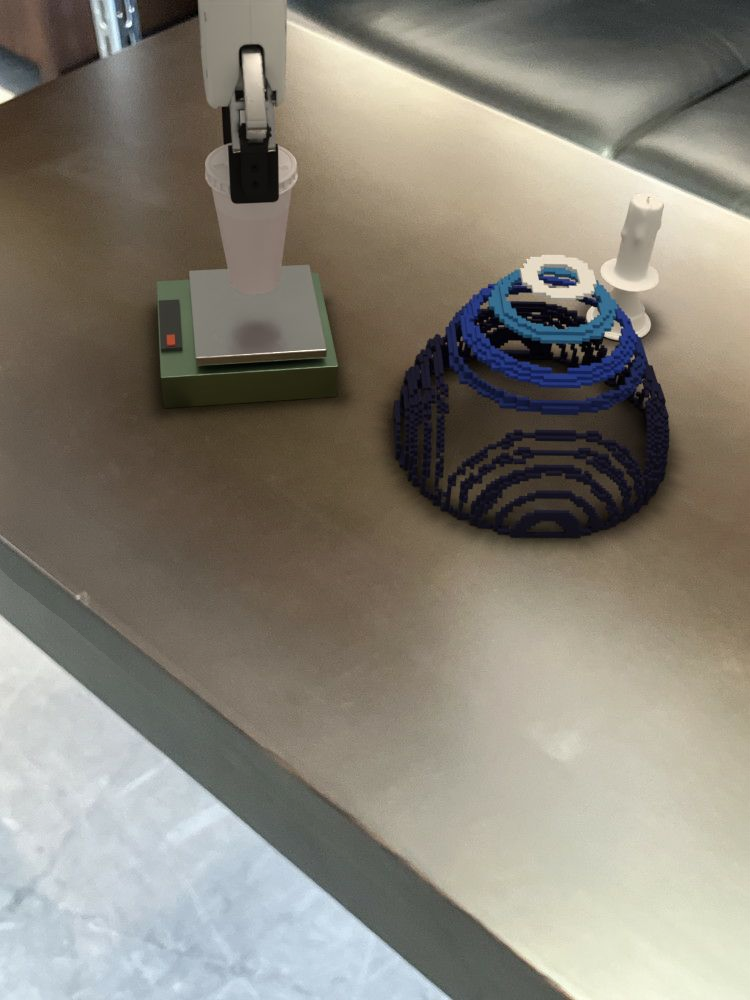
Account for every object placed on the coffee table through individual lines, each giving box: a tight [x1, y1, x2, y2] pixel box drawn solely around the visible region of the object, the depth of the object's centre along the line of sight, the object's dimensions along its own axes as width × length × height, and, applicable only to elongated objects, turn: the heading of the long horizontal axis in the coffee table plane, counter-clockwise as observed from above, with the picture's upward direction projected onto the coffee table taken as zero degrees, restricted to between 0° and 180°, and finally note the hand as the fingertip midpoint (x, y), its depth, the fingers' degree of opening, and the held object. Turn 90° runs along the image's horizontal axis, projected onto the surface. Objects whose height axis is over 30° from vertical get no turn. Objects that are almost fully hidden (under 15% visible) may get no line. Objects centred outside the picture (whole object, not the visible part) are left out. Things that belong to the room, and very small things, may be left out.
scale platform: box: [188, 264, 327, 366], centre depth 88 cm, size 10×11×1 cm
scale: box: [156, 272, 339, 409], centre depth 89 cm, size 13×12×3 cm
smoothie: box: [204, 98, 299, 295], centre depth 81 cm, size 6×6×14 cm
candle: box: [585, 193, 665, 341], centre depth 91 cm, size 5×5×12 cm
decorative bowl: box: [392, 254, 671, 539], centre depth 80 cm, size 20×20×14 cm
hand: (250, 171), depth 79 cm, fingers closed on smoothie, 6 cm apart
